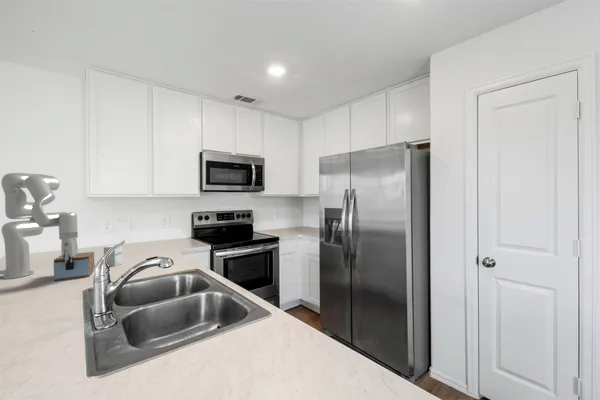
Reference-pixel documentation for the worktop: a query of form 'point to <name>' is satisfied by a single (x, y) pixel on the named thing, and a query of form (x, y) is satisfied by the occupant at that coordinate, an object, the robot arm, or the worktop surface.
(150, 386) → the worktop surface
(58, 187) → the robot arm
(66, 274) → the tray
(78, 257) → the tan storage bin
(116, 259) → the supplement box
